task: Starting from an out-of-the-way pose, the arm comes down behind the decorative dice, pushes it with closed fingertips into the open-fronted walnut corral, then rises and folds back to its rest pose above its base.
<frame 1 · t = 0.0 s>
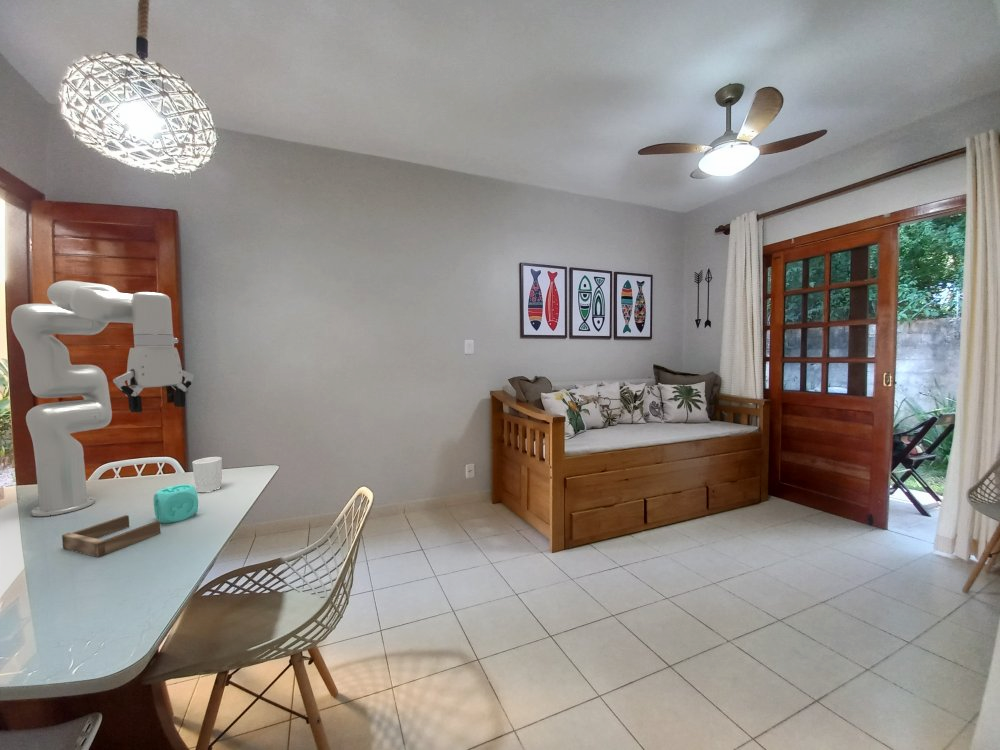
hand: (159, 409, 100), 31 cm above the table, tool pointing down, fingers open, 9 cm apart
corral: (116, 539, 96), on the table
decorative dice: (177, 517, 109), on the table
white cup: (209, 490, 131), on the table
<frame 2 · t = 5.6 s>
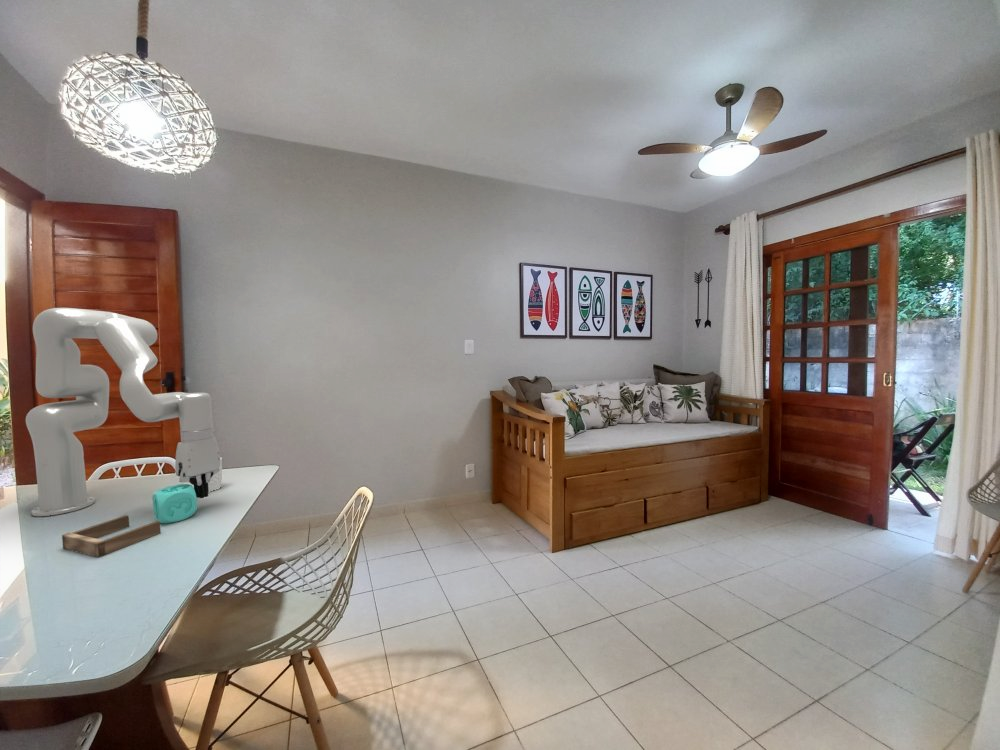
hand: (201, 496, 115), 3 cm above the table, tool pointing down, fingers closed
decorative dice: (176, 517, 108), on the table, touching gripper
everything else where it was.
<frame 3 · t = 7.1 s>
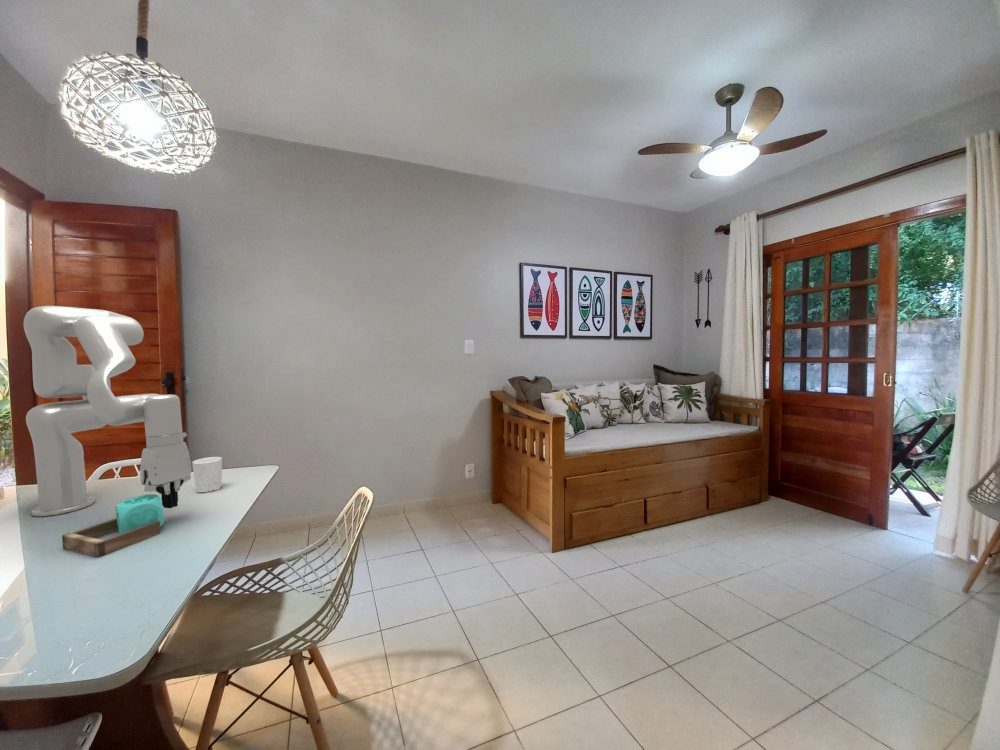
hand: (170, 506, 107), 4 cm above the table, tool pointing down, fingers closed
decorative dice: (142, 531, 100), on the table, touching gripper
everything else where it was.
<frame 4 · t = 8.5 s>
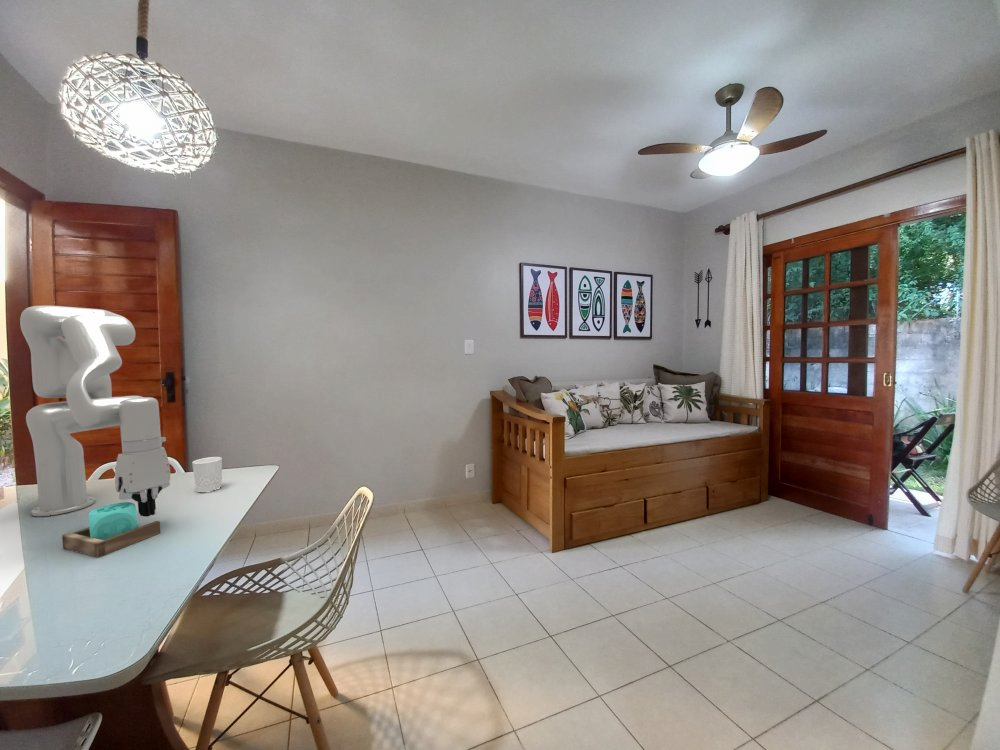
hand: (147, 514, 102), 4 cm above the table, tool pointing down, fingers closed
decorative dice: (114, 540, 96), on the table, touching corral, gripper
everything else where it was.
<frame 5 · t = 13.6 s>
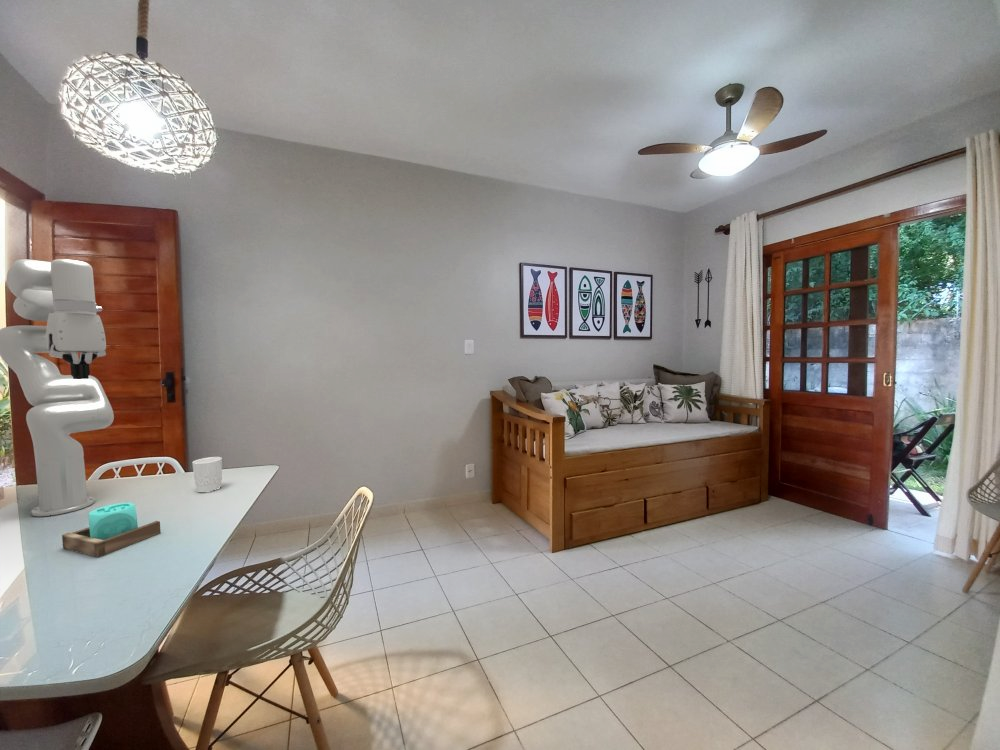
hand: (81, 378, 103), 39 cm above the table, tool pointing down, fingers closed
decorative dice: (114, 541, 96), on the table
everything else where it was.
at the end: decorative dice inside the target area (0.0 cm from its centre), on the table; decorative dice moved 14.0 cm from its start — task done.
